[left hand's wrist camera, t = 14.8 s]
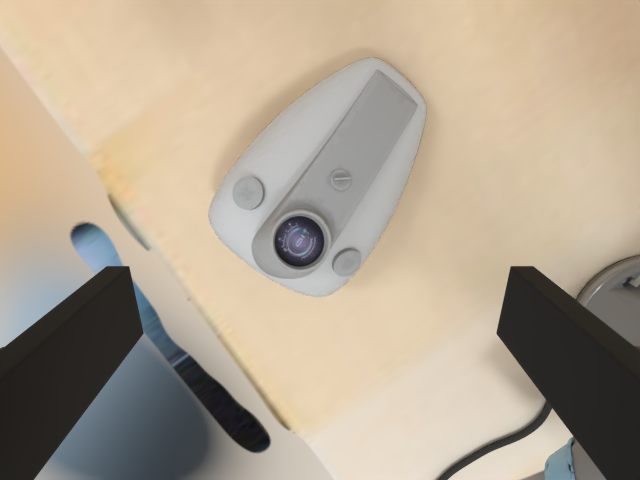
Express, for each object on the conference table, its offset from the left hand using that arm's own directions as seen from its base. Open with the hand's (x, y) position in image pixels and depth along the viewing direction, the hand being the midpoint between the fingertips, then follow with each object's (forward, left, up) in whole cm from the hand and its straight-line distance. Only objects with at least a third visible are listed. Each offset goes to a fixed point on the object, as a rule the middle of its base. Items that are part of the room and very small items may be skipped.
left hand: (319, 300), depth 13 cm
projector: (-1, -1, -29) cm, 29 cm away
